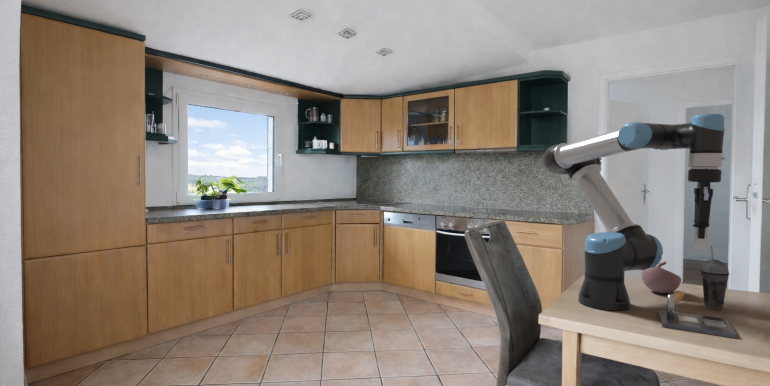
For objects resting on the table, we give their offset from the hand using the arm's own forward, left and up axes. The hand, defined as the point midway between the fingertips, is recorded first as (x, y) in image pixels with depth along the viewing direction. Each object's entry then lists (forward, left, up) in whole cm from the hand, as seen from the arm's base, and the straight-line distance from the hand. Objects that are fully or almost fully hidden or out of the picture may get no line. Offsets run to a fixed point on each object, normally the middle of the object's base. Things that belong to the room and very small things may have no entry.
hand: (699, 249), depth 117 cm
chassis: (-1, -5, -21) cm, 22 cm away
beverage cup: (+6, +17, -21) cm, 28 cm away
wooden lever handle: (-5, +2, -17) cm, 17 cm away
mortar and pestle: (-7, +29, -21) cm, 37 cm away
